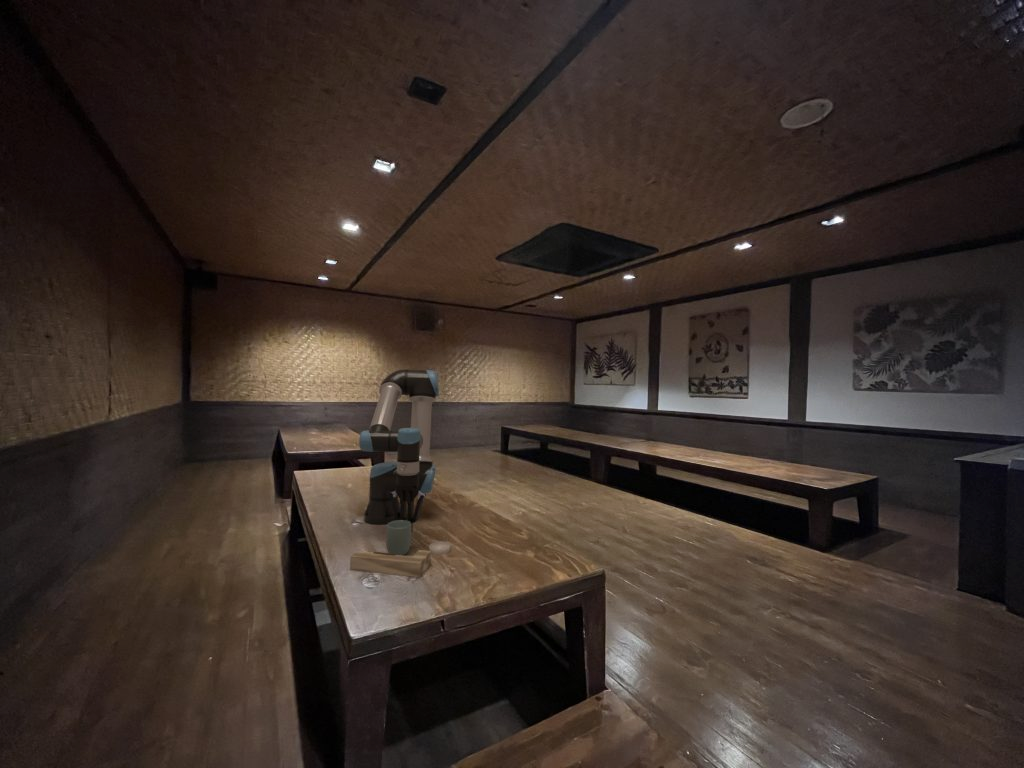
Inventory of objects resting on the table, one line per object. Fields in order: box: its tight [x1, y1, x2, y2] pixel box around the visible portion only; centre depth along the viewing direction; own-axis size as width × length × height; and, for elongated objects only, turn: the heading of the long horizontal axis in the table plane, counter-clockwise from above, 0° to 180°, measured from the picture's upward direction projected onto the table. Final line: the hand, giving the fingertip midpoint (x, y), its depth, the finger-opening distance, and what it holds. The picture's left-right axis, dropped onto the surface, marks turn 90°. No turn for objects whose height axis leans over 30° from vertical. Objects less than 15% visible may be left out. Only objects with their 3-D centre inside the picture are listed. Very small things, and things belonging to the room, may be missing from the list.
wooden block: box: [349, 549, 432, 578], centre depth 121 cm, size 9×22×4 cm, turn 81°
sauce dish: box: [428, 540, 451, 555], centre depth 135 cm, size 7×7×2 cm
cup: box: [385, 520, 412, 556], centre depth 130 cm, size 8×8×10 cm
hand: (406, 542), depth 135 cm, fingers closed
